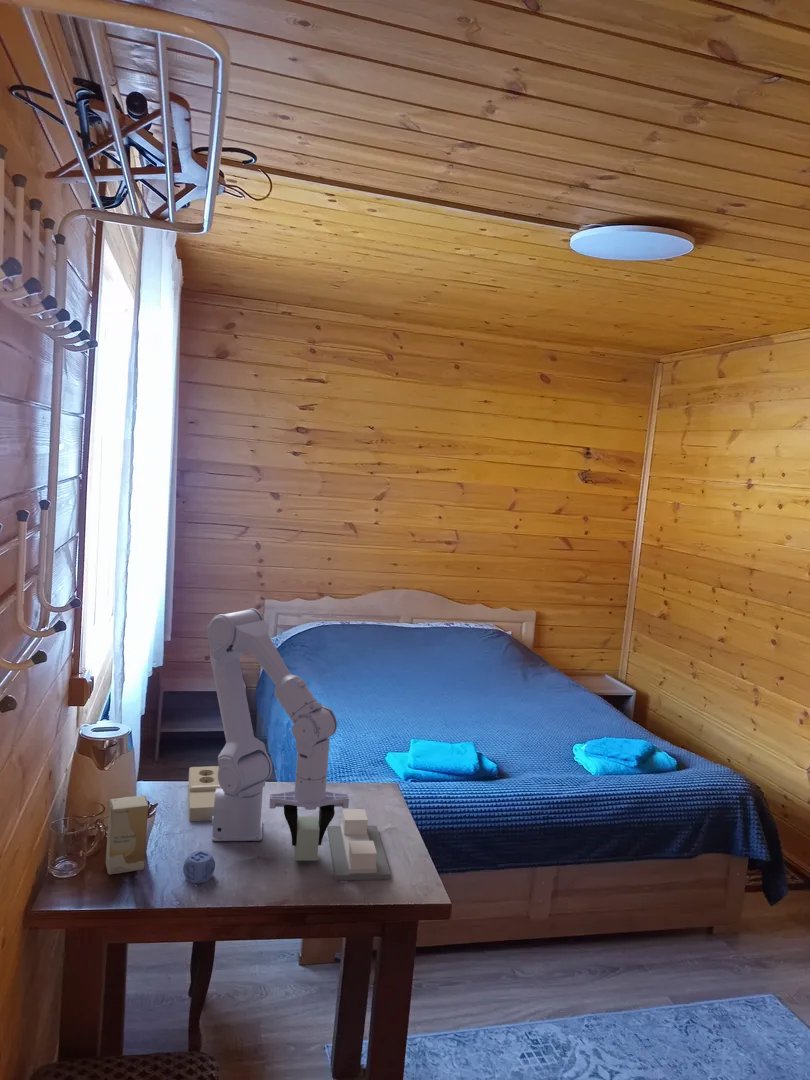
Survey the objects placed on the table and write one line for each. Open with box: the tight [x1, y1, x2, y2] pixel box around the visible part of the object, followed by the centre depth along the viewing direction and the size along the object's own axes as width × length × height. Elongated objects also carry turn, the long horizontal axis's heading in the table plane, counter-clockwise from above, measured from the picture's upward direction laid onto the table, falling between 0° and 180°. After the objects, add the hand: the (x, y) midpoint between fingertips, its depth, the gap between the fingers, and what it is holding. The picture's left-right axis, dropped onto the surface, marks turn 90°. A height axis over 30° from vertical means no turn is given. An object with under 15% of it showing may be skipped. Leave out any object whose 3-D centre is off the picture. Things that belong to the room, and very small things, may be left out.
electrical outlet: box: [188, 765, 221, 822], centre depth 167 cm, size 7×4×18 cm
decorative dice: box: [182, 850, 216, 885], centre depth 138 cm, size 4×4×4 cm
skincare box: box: [105, 795, 149, 875], centre depth 139 cm, size 6×4×12 cm
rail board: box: [326, 808, 391, 881], centre depth 150 cm, size 10×18×5 cm, turn 10°
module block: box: [293, 815, 320, 862], centre depth 146 cm, size 4×5×6 cm
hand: (306, 842), depth 146 cm, fingers closed on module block, 4 cm apart
